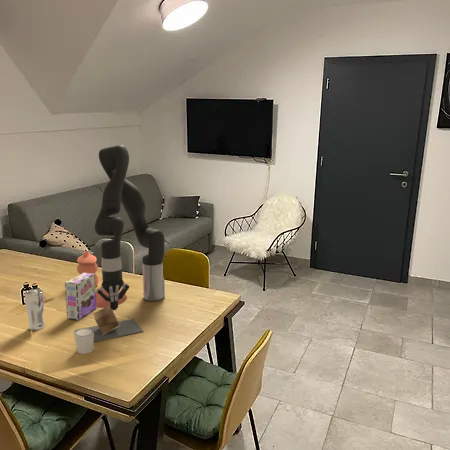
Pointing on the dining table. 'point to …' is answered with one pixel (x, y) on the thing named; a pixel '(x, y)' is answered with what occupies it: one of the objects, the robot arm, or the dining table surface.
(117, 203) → the robot arm
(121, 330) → the placemat
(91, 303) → the candy box
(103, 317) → the walnut cube
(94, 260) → the ceramic vessels
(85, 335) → the shot glass
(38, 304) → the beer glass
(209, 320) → the dining table surface
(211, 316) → the dining table surface
